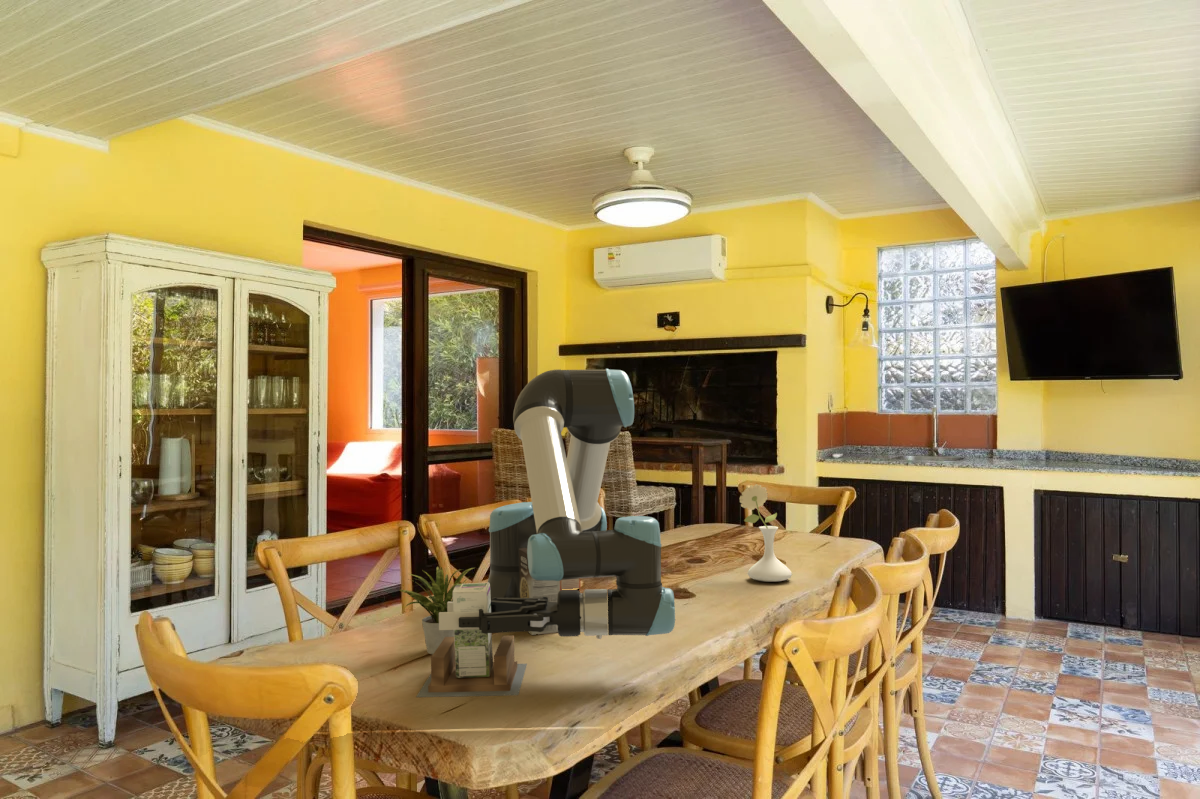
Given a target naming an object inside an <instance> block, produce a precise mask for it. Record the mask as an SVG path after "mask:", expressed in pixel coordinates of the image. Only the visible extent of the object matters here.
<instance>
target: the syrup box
mask: <svg viewBox="0 0 1200 799" xmlns="http://www.w3.org/2000/svg"><path fill="white" fill-rule="evenodd" d="M452 598H453V612H478V611H479V609H482V610H483V613H491V595H490V583H487V582H476V583H475V582H474V583H473V582H472V583H470V582H469V583H459V584H457V585H456V586H455V588H454V590H453V597H452ZM492 634H493V633H486V634H484V633H482V630H479V629H472V630H454V643H455V667H456V678H472V677H489V676H490V674H491V670H492V667H493V662H494V654H493V639H492V638H493V636H492Z"/></svg>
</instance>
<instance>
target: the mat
mask: <svg viewBox="0 0 1200 799" xmlns="http://www.w3.org/2000/svg"><path fill="white" fill-rule="evenodd" d="M527 665H528V663H517V670H516V673H515V677H514V680H513V683H512V686H511V689H510V691H474V692H428V686H429V684H430V682H431V673H430V675H429V676H428V678H427V679H426V681H425V682H424V684H422V685H423V686H422V687H421V688H420V690H419V692H418V693H417V695H416V696H415V698H441V697H443V698H444V697H445V698H446V697H448V698H449V697H496V696H497V697H498V696H499V697H500V696H501V697H502V696H504V697H506V696H519V693H520V690H521V687H522V683H523V680H524V675H525V672H526V669H527Z"/></svg>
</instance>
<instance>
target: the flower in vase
mask: <svg viewBox="0 0 1200 799" xmlns="http://www.w3.org/2000/svg"><path fill="white" fill-rule="evenodd" d="M767 491H768V490H767V487H763V486H762V485H761V484H757V483H756V484H754V485H752V484H751V485H749V487H745V489H744V490H743V491H742V492H741V495H740V496H739V503H741V504H740V506H741V507H742V508H743V509H747V510H753V511H754V510H755V509H757V513H758V515H757V514H754V513H753V514H750V515H748V516H747V517H746V518H745V519H744V520H743V521H744V522H747V523H750V524H751V523H752V524H755V523H756V522H757V521H759V519H760V520H761V521H762V523H763V524H764V525H763V526H762V525H761V526H758V529H759V530H760V532H761V534H762V536H763V542H764V554H763V556H762V557H761V558H760V559H759V560H758V561H757V562H756V563H754V564H753V565H752V566H751V567H750V568H749V569H748V571H747V573H746V574H747V576H748V577H749V578H751V579H753V580H755V581H759V582H767V583H772V582H773V583H774V582H775V583H777V582H782V581H787V580H789V579H791V578H792V576H793V572H792V571H791V569H790V568H789V567H787V565H786V564H784V563H783V562H781V561H780V560H779V559H778V558H777V557H776V555H775V551H774V542H775V535H776V533H777V531H778V529H779V527H778V526H775V525H767V524H766V523H770V522H774V520H776V518H777V516H778V513H777V512H775V513H774V514H772V515H768V516H767V517H765V520H764V518H763V517H762V516H761V514H760V510H759V507H763V506H764V503H765V504H766V501H767V500H768V492H767Z"/></svg>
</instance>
